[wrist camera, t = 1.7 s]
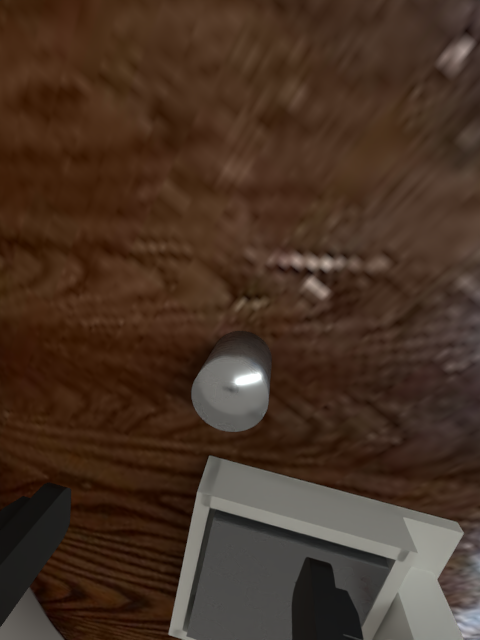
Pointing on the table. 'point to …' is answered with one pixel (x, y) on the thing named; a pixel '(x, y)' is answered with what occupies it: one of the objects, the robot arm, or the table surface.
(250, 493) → the scale
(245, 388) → the cylinder
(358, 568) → the scale pan
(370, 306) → the table surface
